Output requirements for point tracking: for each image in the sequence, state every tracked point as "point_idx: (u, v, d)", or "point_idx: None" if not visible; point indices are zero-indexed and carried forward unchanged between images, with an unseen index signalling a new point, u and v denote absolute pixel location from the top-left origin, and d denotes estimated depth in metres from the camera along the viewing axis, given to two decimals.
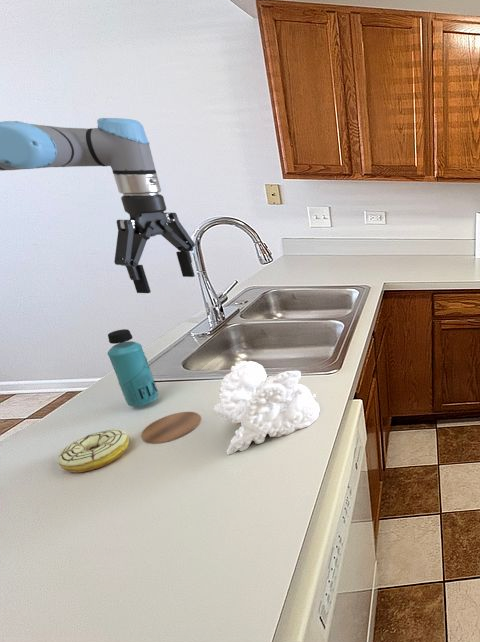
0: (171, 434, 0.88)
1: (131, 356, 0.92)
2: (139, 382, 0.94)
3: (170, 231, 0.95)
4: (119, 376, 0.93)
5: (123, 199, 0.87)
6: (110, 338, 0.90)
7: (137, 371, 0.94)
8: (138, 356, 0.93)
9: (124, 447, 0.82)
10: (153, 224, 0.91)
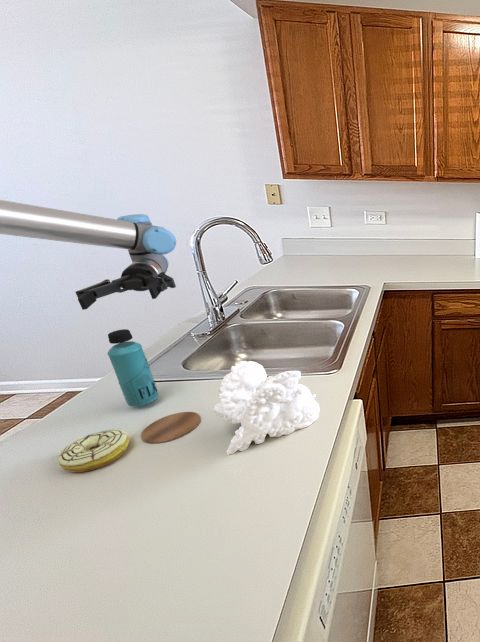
0: (171, 434, 0.88)
1: (131, 356, 0.92)
2: (139, 382, 0.94)
3: None
4: (119, 376, 0.93)
5: (154, 270, 1.14)
6: (110, 338, 0.90)
7: (137, 371, 0.94)
8: (138, 356, 0.93)
9: (124, 447, 0.82)
10: (143, 287, 1.10)
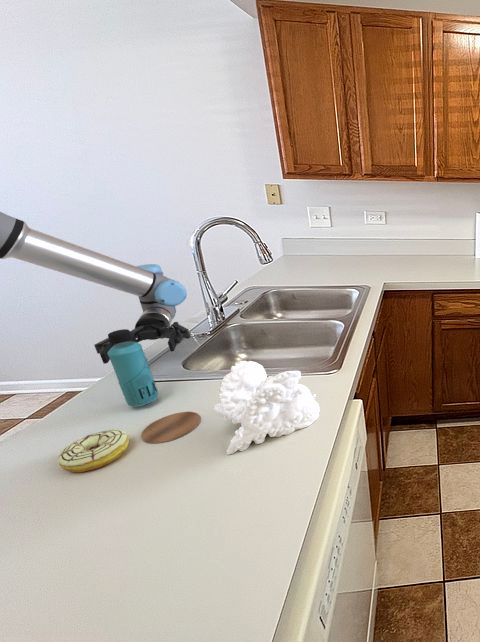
0: (171, 434, 0.88)
1: (131, 356, 0.92)
2: (139, 382, 0.94)
3: None
4: (119, 376, 0.93)
5: (166, 318, 1.19)
6: (110, 338, 0.90)
7: (137, 371, 0.94)
8: (138, 356, 0.93)
9: (124, 447, 0.82)
10: None
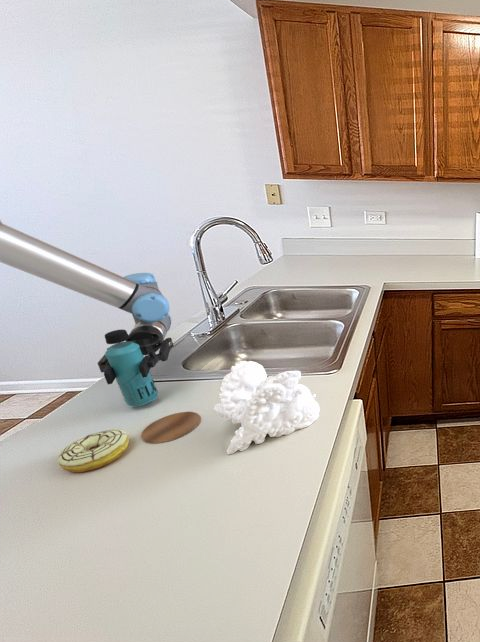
0: (171, 434, 0.88)
1: (128, 356, 0.92)
2: (138, 382, 0.94)
3: None
4: (117, 376, 0.92)
5: (160, 332, 1.10)
6: (107, 339, 0.90)
7: (135, 371, 0.93)
8: (136, 356, 0.93)
9: (124, 447, 0.82)
10: None
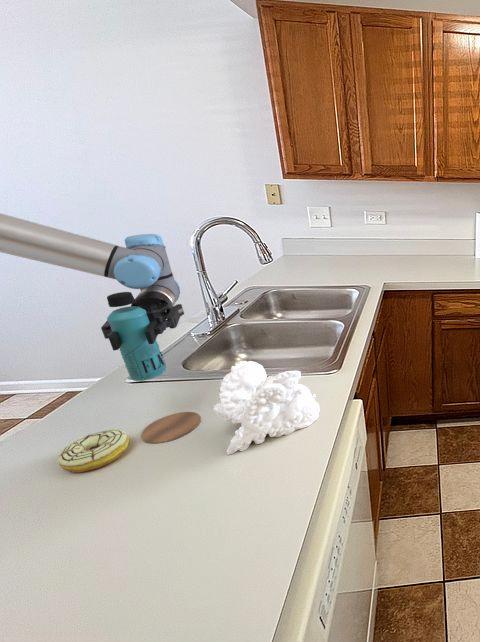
0: (171, 434, 0.88)
1: (132, 322, 0.80)
2: (142, 353, 0.82)
3: None
4: None
5: (169, 299, 0.98)
6: (109, 300, 0.78)
7: (140, 340, 0.81)
8: (141, 322, 0.81)
9: (124, 447, 0.82)
10: None
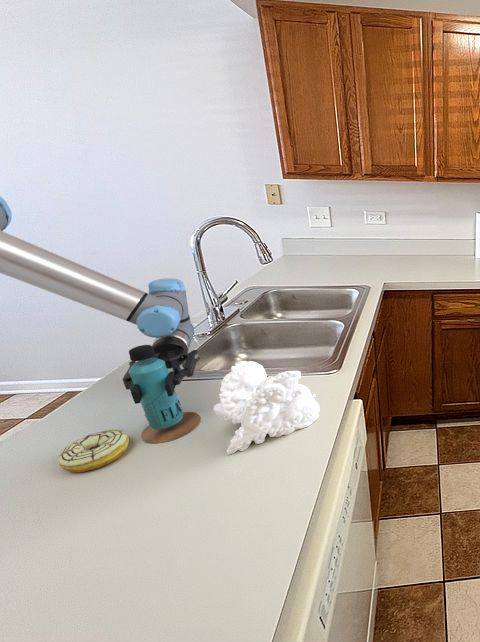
0: (171, 434, 0.88)
1: (153, 375, 0.83)
2: (161, 403, 0.86)
3: None
4: None
5: (185, 343, 1.01)
6: (131, 355, 0.82)
7: (159, 391, 0.85)
8: (161, 374, 0.85)
9: (124, 447, 0.82)
10: None
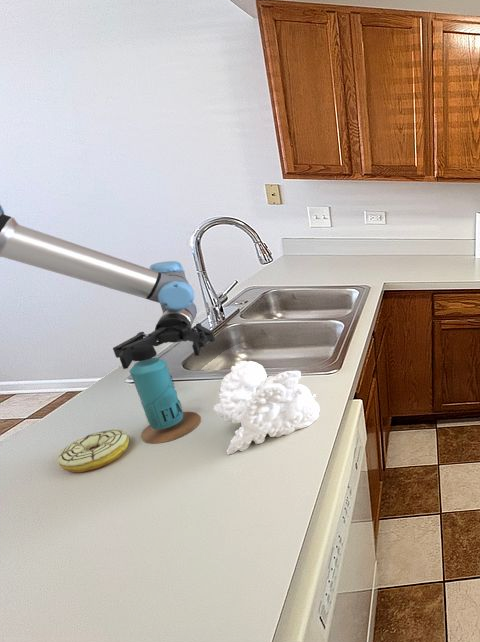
0: (171, 434, 0.88)
1: (154, 375, 0.83)
2: (162, 403, 0.86)
3: None
4: (141, 396, 0.84)
5: (188, 319, 1.11)
6: (132, 355, 0.82)
7: (160, 392, 0.85)
8: (162, 374, 0.85)
9: (124, 447, 0.82)
10: None
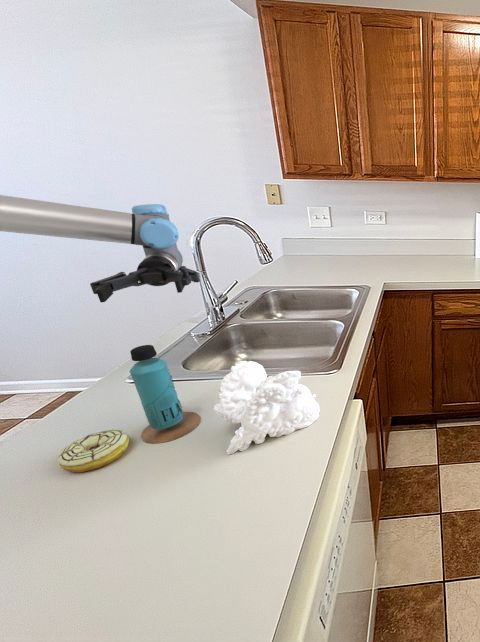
0: (171, 434, 0.88)
1: (154, 375, 0.83)
2: (162, 403, 0.86)
3: None
4: (141, 396, 0.84)
5: (172, 263, 1.05)
6: (132, 355, 0.82)
7: (160, 392, 0.85)
8: (162, 374, 0.85)
9: (124, 447, 0.82)
10: None
